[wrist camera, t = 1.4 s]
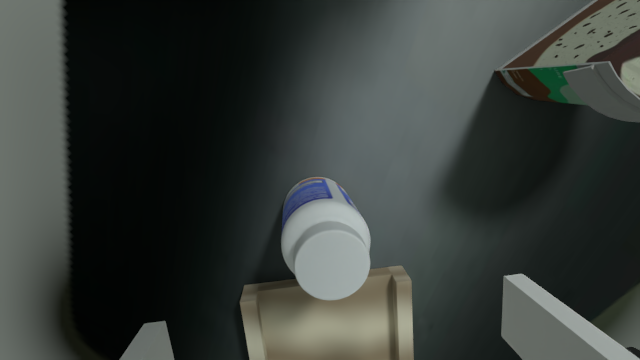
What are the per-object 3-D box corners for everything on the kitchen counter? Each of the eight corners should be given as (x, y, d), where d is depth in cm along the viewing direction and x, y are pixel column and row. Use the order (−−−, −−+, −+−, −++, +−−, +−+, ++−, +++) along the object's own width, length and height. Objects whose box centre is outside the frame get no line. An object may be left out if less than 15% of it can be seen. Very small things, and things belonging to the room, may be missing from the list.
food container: (512, 147, 26) (644, 173, 16) (477, 82, 25) (598, 69, 15) (647, 54, 25) (870, 23, 15) (619, -19, 24) (845, -103, 14)
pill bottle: (274, 228, 26) (263, 300, 16) (295, 166, 25) (297, 204, 15) (337, 246, 27) (361, 324, 17) (360, 187, 26) (399, 235, 16)
